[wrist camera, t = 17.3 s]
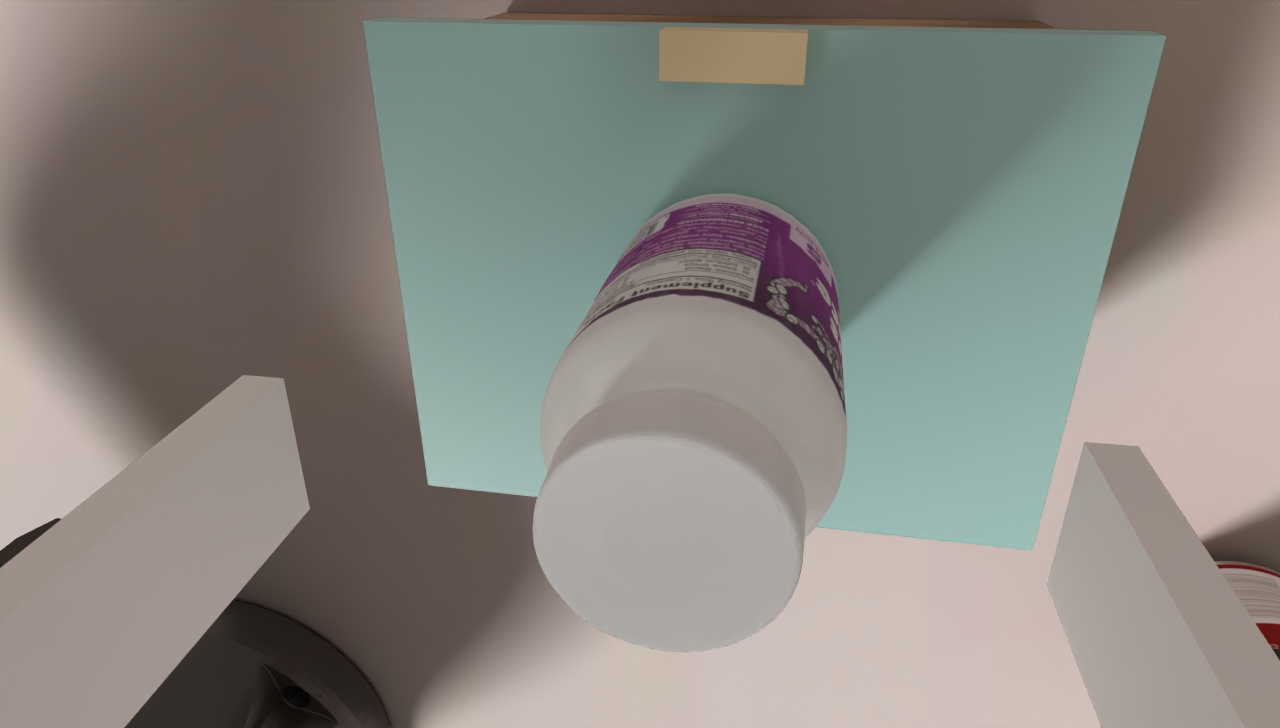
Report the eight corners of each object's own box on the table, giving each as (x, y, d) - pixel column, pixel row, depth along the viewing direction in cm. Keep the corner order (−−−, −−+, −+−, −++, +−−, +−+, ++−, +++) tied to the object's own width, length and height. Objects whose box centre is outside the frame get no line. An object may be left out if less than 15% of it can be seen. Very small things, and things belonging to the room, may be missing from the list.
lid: (438, 470, 26) (419, 497, 25) (378, 17, 20) (349, 24, 19) (1026, 531, 23) (1037, 565, 22) (1152, 30, 18) (1177, 39, 16)
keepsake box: (527, 352, 33) (449, 469, 26) (505, 12, 28) (399, 43, 21) (968, 388, 31) (1013, 527, 24) (1039, 21, 25) (1124, 59, 18)
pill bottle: (855, 377, 21) (879, 684, 13) (647, 405, 23) (548, 698, 14) (819, 161, 19) (820, 365, 11) (591, 208, 21) (434, 420, 12)
